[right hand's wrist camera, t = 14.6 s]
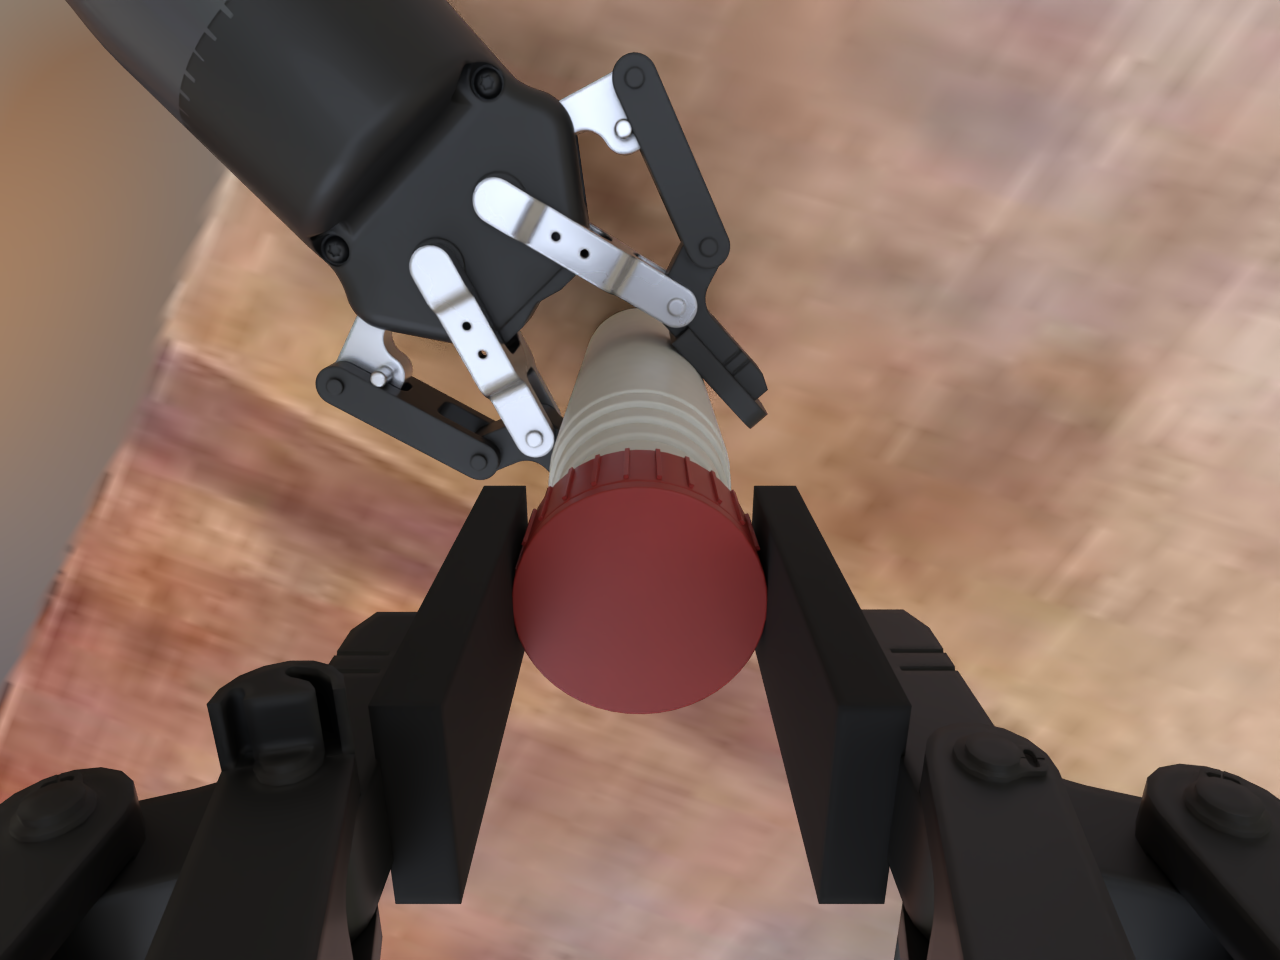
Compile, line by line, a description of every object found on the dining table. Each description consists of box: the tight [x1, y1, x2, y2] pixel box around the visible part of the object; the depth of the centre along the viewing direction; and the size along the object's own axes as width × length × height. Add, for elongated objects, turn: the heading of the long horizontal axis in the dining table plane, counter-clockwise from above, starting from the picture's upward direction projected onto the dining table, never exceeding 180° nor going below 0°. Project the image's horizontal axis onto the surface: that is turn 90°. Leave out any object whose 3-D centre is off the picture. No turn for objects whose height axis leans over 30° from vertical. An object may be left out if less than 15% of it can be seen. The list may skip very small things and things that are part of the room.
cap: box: [512, 448, 767, 714], centre depth 14 cm, size 4×4×2 cm
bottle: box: [549, 308, 731, 491], centre depth 22 cm, size 4×4×19 cm
